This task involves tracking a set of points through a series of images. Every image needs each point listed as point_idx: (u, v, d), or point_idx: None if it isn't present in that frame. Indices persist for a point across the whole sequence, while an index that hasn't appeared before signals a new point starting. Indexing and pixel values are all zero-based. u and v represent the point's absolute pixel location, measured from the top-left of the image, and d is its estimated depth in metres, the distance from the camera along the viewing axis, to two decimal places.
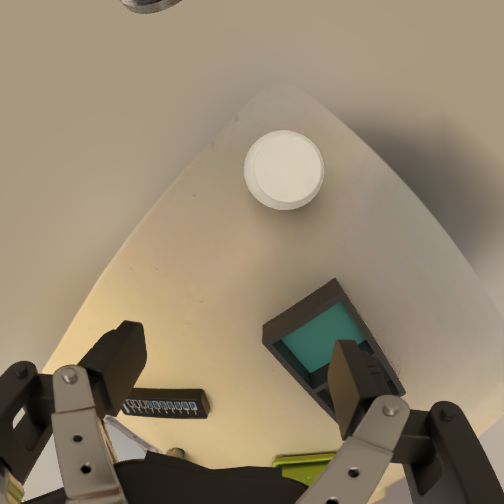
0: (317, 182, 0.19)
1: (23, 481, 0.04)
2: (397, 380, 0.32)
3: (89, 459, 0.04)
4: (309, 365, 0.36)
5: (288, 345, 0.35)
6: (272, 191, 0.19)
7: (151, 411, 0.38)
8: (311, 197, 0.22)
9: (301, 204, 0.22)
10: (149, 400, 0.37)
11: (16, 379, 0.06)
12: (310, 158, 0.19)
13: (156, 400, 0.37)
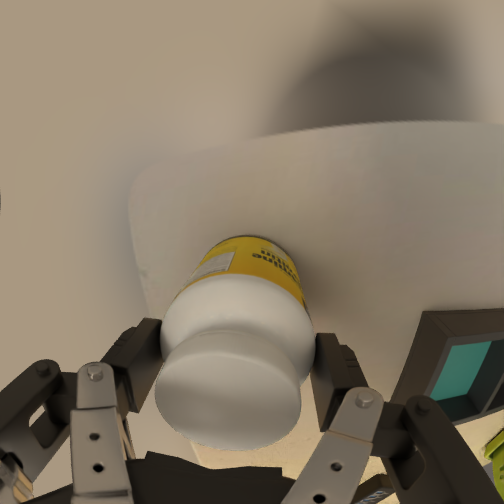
0: (292, 391, 0.08)
1: (34, 477, 0.05)
2: None
3: (103, 458, 0.04)
4: (460, 391, 0.21)
5: None
6: (243, 444, 0.08)
7: None
8: (311, 355, 0.11)
9: (307, 373, 0.11)
10: None
11: (37, 377, 0.06)
12: (237, 372, 0.08)
13: None
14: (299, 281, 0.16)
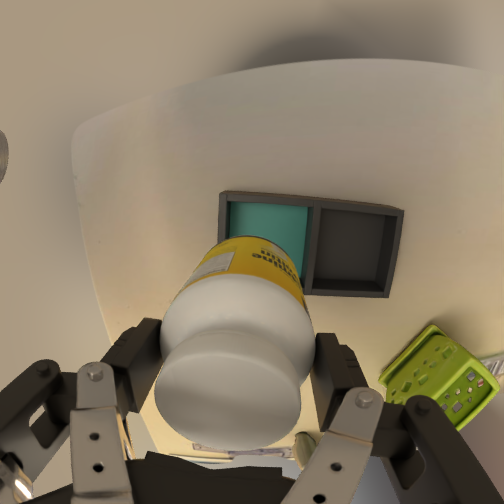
0: (292, 391, 0.08)
1: (34, 477, 0.05)
2: (375, 208, 0.29)
3: (103, 458, 0.04)
4: None
5: None
6: (242, 444, 0.08)
7: None
8: (311, 355, 0.11)
9: (307, 374, 0.11)
10: None
11: (36, 377, 0.06)
12: (237, 372, 0.08)
13: None
14: (299, 281, 0.16)
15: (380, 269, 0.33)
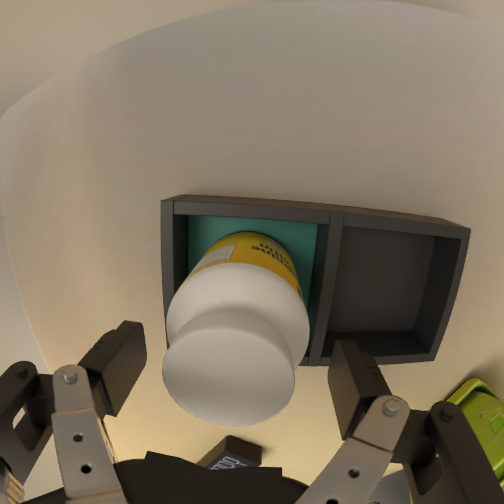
0: (286, 365, 0.09)
1: (23, 481, 0.04)
2: (431, 225, 0.16)
3: (89, 459, 0.04)
4: None
5: None
6: (242, 419, 0.10)
7: None
8: (305, 337, 0.12)
9: (302, 356, 0.12)
10: None
11: (15, 379, 0.06)
12: (237, 347, 0.09)
13: None
14: (295, 273, 0.17)
15: (424, 317, 0.20)
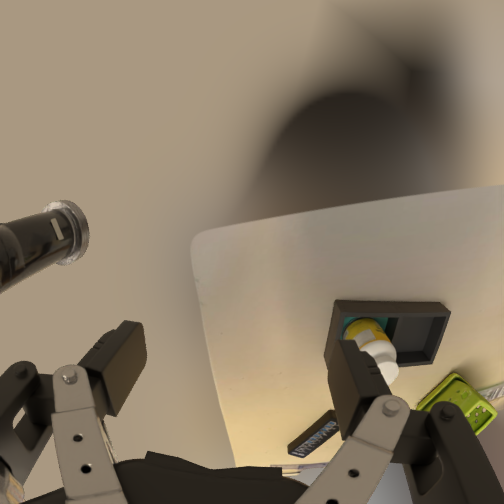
0: (398, 368, 0.32)
1: (23, 481, 0.04)
2: (434, 313, 0.39)
3: (89, 459, 0.04)
4: None
5: None
6: None
7: (314, 444, 0.49)
8: (395, 359, 0.35)
9: None
10: (307, 440, 0.49)
11: (15, 379, 0.06)
12: (388, 365, 0.32)
13: (310, 437, 0.49)
14: None
15: (428, 344, 0.43)
